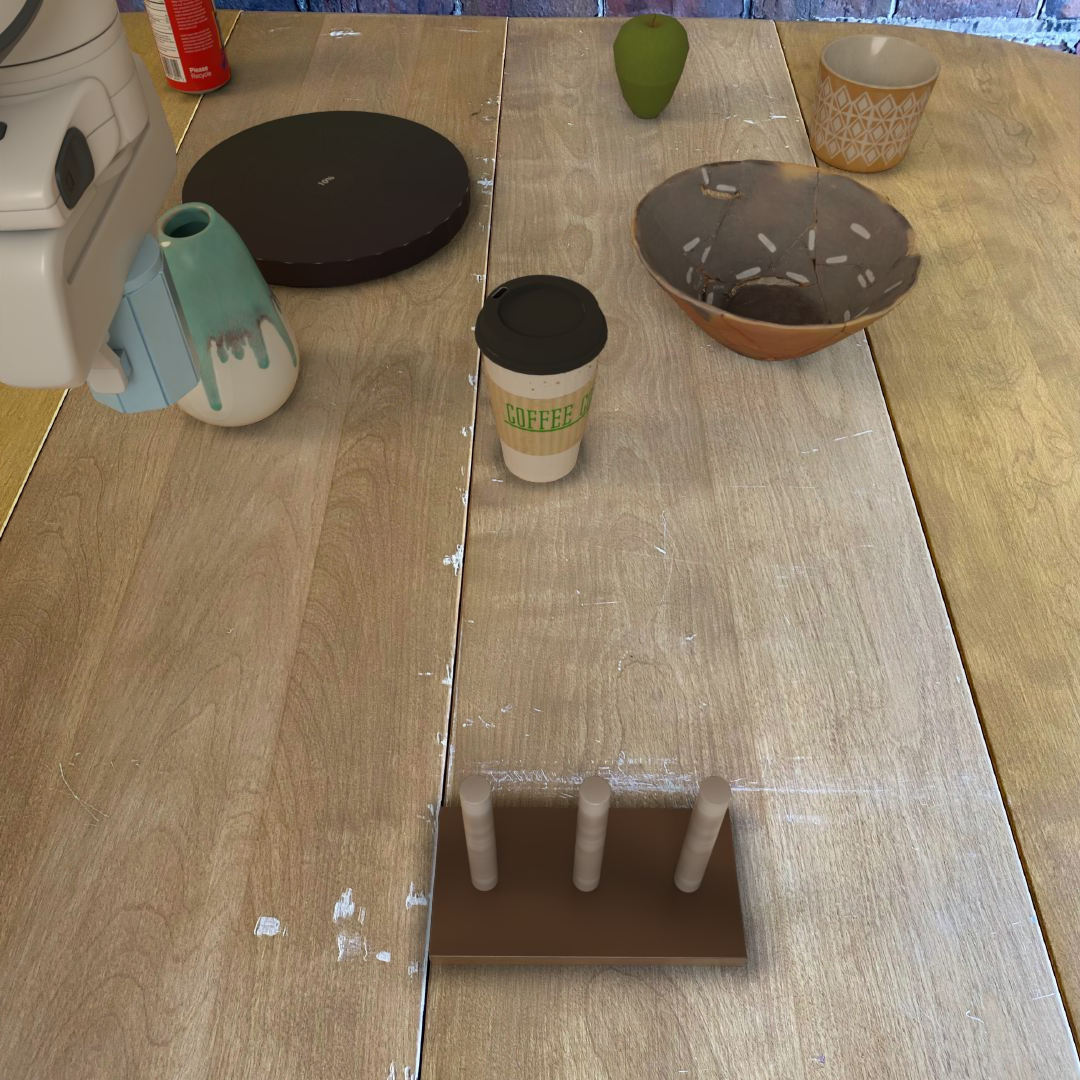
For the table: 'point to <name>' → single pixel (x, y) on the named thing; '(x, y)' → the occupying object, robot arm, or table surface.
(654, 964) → the cup rack
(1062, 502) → the table surface
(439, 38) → the table surface
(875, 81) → the planter
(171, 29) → the soda can
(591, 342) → the coffee cup
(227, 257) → the vase
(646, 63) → the apple
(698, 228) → the bowl
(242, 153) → the disc
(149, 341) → the blue cup
